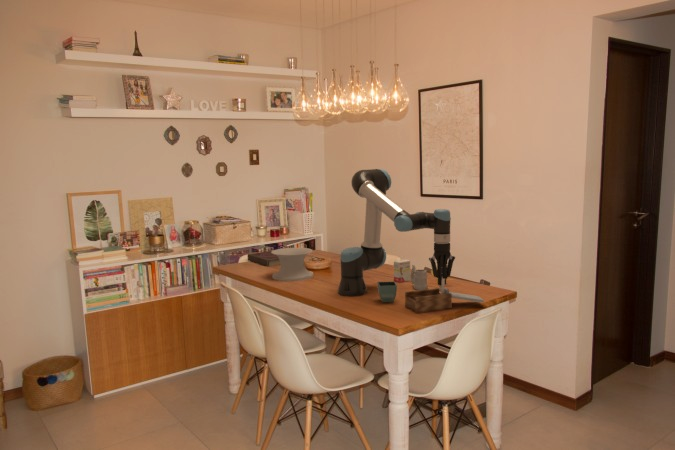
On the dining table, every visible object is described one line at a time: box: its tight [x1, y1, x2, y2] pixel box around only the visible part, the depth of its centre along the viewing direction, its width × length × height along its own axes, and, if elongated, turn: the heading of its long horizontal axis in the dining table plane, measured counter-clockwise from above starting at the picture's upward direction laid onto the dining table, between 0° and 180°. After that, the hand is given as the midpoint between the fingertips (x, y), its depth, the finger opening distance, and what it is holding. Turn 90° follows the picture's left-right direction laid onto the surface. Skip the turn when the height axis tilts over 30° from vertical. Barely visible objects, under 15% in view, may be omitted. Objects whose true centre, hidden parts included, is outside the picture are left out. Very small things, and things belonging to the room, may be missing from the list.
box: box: [404, 287, 453, 314], centre depth 253 cm, size 18×12×7 cm, turn 108°
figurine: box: [430, 269, 454, 284], centre depth 300 cm, size 12×12×9 cm
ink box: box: [393, 258, 411, 283], centre depth 307 cm, size 9×5×12 cm, turn 120°
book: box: [247, 250, 281, 268], centre depth 376 cm, size 30×22×5 cm
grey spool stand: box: [271, 247, 314, 282], centre depth 326 cm, size 25×25×16 cm
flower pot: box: [376, 281, 398, 303], centre depth 266 cm, size 9×9×9 cm
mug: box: [410, 264, 429, 291], centre depth 291 cm, size 8×12×12 cm, turn 31°
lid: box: [440, 287, 484, 304], centre depth 256 cm, size 18×10×3 cm, turn 91°
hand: (441, 291), depth 255 cm, fingers closed
